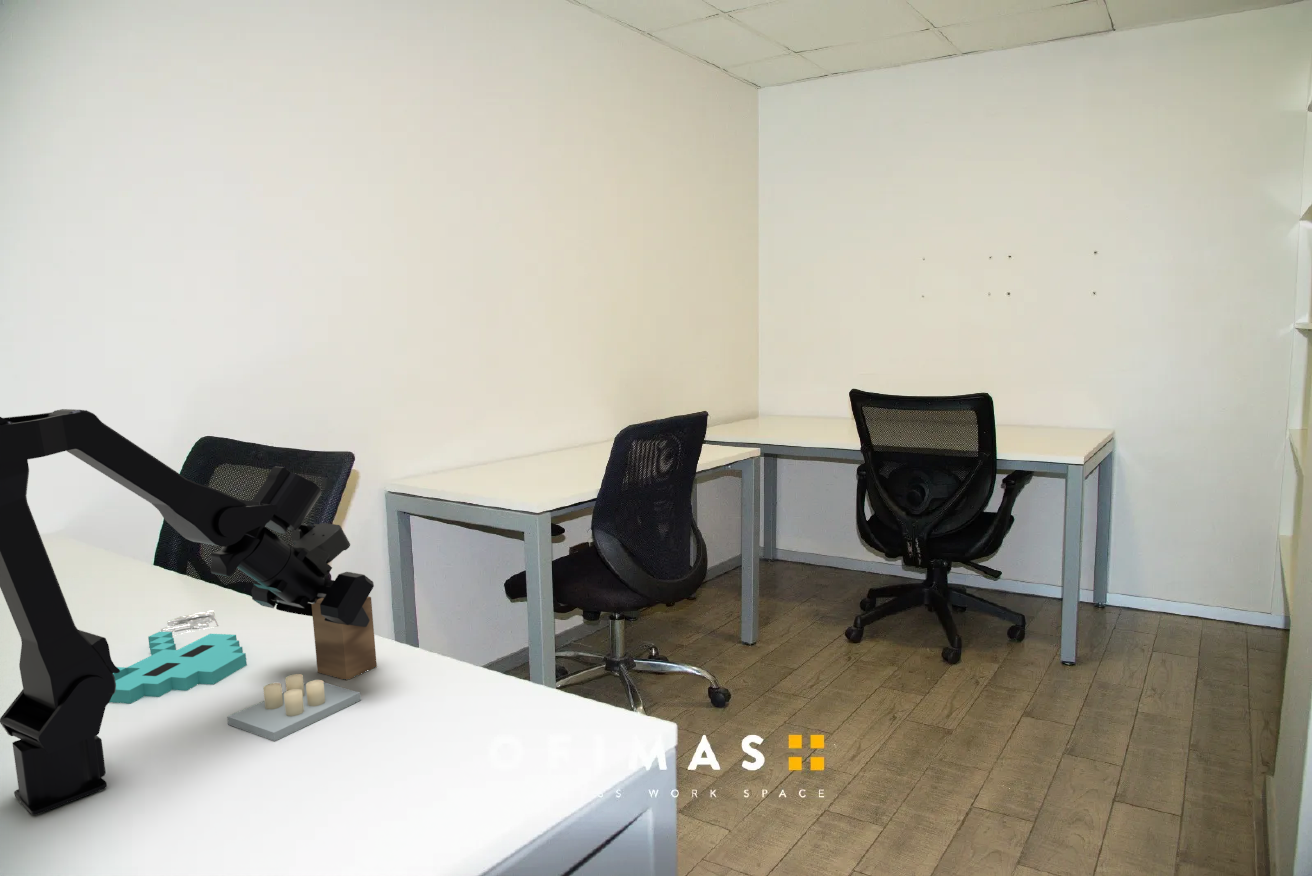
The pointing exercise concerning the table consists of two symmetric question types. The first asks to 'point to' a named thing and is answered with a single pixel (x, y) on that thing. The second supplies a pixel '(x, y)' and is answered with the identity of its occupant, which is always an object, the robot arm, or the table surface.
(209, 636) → the alien figure
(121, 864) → the table surface
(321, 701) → the peg stand
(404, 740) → the table surface
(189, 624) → the crumpled silver wrapper
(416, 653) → the table surface
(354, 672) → the walnut block
